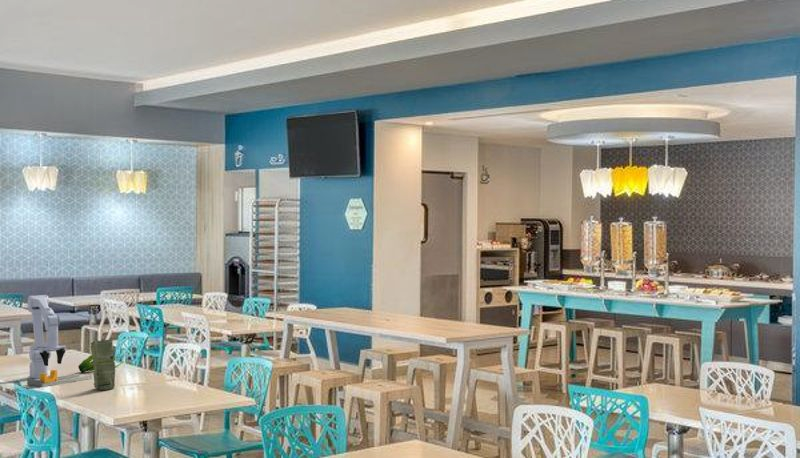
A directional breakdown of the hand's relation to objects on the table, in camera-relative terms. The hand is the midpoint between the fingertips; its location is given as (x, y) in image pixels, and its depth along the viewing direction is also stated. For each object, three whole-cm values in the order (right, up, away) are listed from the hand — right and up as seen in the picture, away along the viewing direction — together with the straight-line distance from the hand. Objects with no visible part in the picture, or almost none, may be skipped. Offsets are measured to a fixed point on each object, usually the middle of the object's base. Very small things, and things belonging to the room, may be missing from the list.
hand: (52, 364), depth 479 cm
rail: (+3, -9, +3) cm, 10 cm away
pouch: (+32, -10, -19) cm, 38 cm away
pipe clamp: (-2, -10, -3) cm, 10 cm away
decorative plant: (+14, -9, +41) cm, 45 cm away
